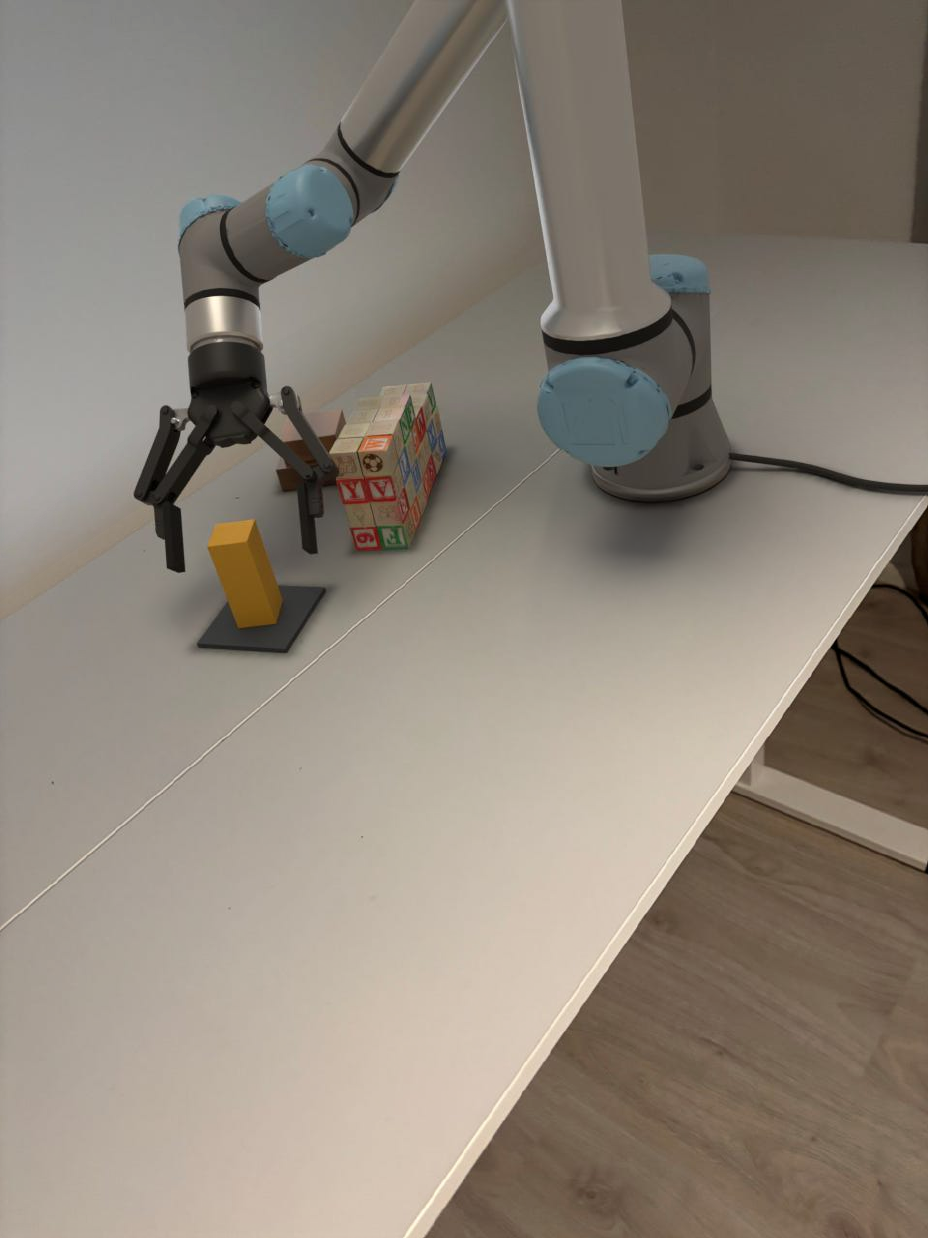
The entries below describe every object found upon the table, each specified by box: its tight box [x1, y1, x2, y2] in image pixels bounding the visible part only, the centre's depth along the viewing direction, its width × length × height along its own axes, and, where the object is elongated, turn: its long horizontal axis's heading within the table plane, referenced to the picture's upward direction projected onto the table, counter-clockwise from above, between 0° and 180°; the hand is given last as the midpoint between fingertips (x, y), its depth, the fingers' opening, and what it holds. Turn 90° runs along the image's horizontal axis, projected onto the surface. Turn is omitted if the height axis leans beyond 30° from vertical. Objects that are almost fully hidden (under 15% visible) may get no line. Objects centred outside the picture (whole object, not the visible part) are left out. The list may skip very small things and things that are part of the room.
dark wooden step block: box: [275, 408, 347, 492], centre depth 127 cm, size 9×9×6 cm
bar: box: [206, 518, 283, 628], centre depth 101 cm, size 4×4×10 cm
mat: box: [196, 585, 326, 653], centre depth 105 cm, size 10×10×1 cm
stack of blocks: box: [329, 381, 447, 551], centre depth 115 cm, size 21×6×12 cm, turn 170°
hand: (242, 561), depth 100 cm, fingers open, 13 cm apart
